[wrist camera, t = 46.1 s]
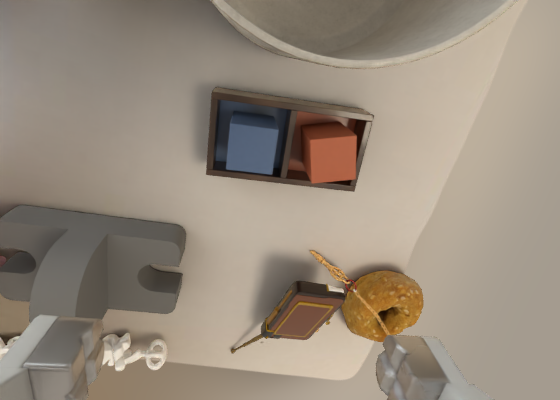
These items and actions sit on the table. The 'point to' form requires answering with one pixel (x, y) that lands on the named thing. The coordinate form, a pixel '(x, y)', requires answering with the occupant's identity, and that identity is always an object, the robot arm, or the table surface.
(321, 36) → the planter
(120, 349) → the skeleton
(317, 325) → the brown book ornament
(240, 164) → the slate block
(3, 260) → the toy
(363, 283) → the bagel
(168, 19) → the table surface
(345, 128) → the terracotta block
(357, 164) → the sorter
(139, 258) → the bracket
